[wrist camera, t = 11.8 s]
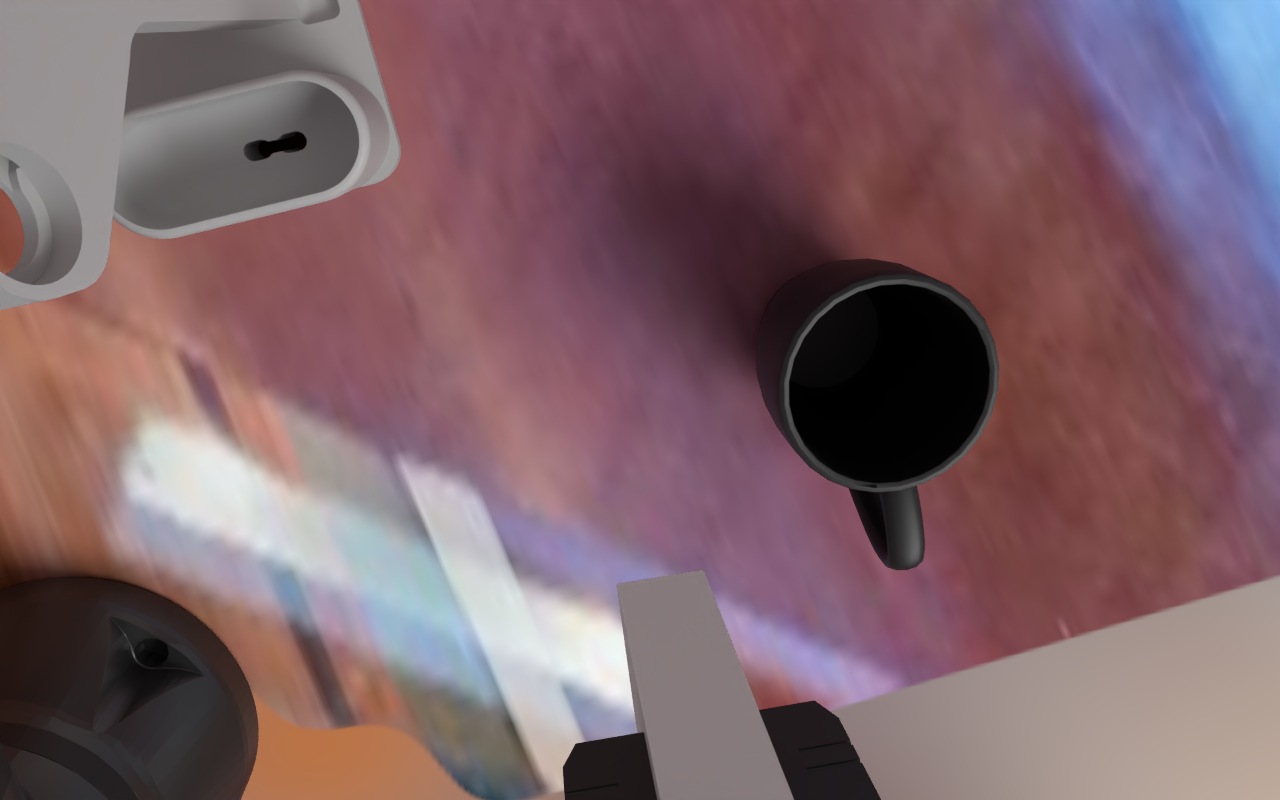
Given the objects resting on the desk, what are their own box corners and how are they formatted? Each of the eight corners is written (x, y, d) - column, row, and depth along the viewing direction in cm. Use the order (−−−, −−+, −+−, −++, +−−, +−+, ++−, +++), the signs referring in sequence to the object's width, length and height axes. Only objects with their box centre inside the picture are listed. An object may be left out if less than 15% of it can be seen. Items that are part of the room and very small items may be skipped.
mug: (753, 511, 49) (803, 604, 40) (717, 256, 46) (764, 294, 37) (925, 479, 50) (1013, 564, 41) (902, 223, 46) (994, 254, 37)
